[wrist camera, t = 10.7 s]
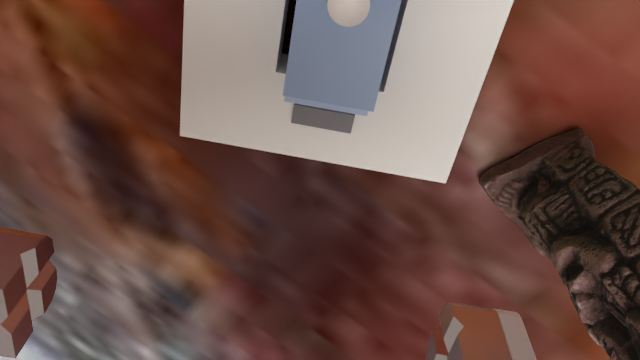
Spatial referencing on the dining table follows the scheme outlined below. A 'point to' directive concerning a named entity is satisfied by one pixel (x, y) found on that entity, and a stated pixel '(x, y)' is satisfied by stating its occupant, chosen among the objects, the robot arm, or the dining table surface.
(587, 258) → the statue
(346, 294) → the dining table surface
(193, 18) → the frame
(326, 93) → the servo
